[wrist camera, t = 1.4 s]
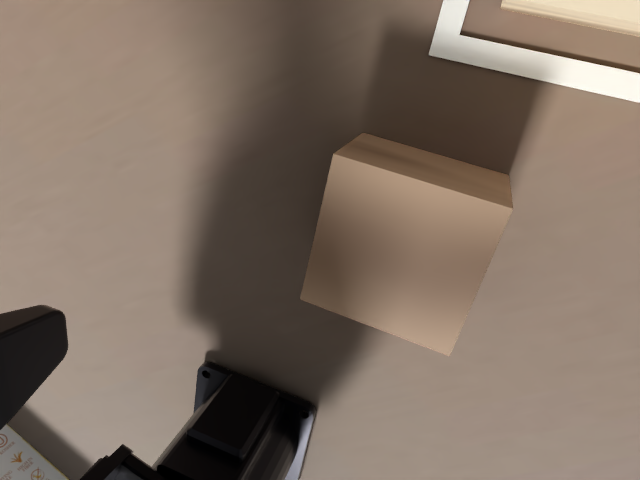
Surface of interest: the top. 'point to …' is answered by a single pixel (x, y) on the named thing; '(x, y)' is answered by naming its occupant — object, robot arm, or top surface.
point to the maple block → (584, 12)
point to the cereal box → (23, 460)
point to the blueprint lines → (526, 59)
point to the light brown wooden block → (405, 239)
